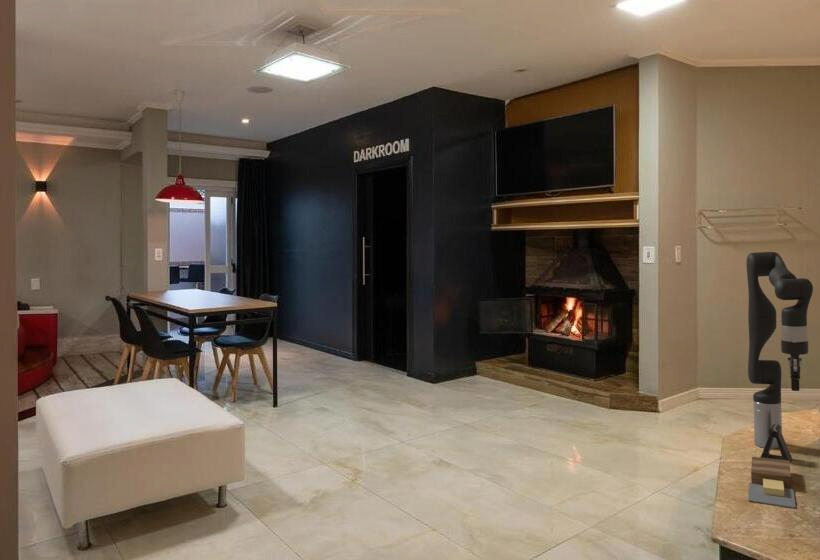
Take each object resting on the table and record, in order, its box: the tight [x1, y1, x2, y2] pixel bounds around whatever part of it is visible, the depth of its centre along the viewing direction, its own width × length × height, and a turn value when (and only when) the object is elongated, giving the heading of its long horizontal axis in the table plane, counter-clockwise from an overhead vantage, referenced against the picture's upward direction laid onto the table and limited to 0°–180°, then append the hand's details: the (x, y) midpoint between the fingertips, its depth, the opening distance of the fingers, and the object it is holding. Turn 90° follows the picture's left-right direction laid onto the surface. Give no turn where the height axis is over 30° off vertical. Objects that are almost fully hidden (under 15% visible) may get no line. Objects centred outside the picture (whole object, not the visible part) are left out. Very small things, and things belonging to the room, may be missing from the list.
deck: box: [750, 456, 793, 489], centre depth 195 cm, size 16×11×4 cm
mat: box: [748, 482, 797, 509], centre depth 181 cm, size 15×12×1 cm
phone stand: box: [760, 424, 793, 462], centre depth 212 cm, size 9×6×12 cm, turn 49°
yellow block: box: [763, 478, 784, 496], centre depth 184 cm, size 8×6×2 cm
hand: (795, 390), depth 194 cm, fingers closed
